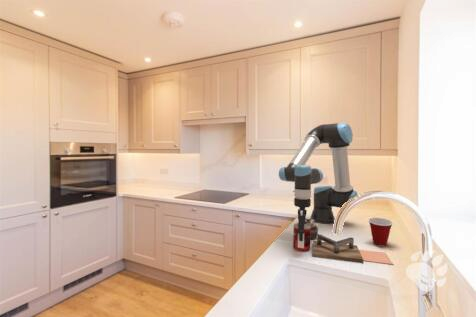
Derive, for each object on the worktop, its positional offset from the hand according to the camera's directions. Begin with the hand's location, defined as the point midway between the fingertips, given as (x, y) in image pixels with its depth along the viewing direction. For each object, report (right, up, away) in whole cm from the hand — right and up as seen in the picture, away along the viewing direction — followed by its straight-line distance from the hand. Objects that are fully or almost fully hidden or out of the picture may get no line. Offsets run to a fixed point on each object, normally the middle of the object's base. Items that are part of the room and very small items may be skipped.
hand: (301, 242), depth 115 cm
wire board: (+14, -3, -4) cm, 15 cm away
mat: (+30, -3, -9) cm, 31 cm away
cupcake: (+8, -3, +16) cm, 18 cm away
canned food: (0, -3, 0) cm, 3 cm away
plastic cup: (+41, -3, +6) cm, 41 cm away
